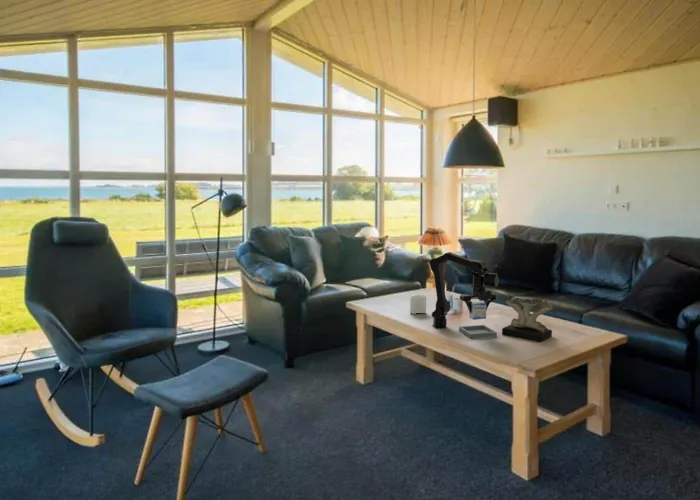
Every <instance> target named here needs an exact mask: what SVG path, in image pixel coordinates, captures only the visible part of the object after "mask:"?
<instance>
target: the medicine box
mask: <svg viewBox="0 0 700 500" xmlns="http://www.w3.org/2000/svg"><path fill="white" fill-rule="evenodd" d="M471 302H472V304H471V313H470V312H469V311H468V312H469V314H468V315H469V317H468V318H469V319H471V320H473V321H475V320H485V319H487V310H486V303H485V302H484V301H471Z"/></svg>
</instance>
